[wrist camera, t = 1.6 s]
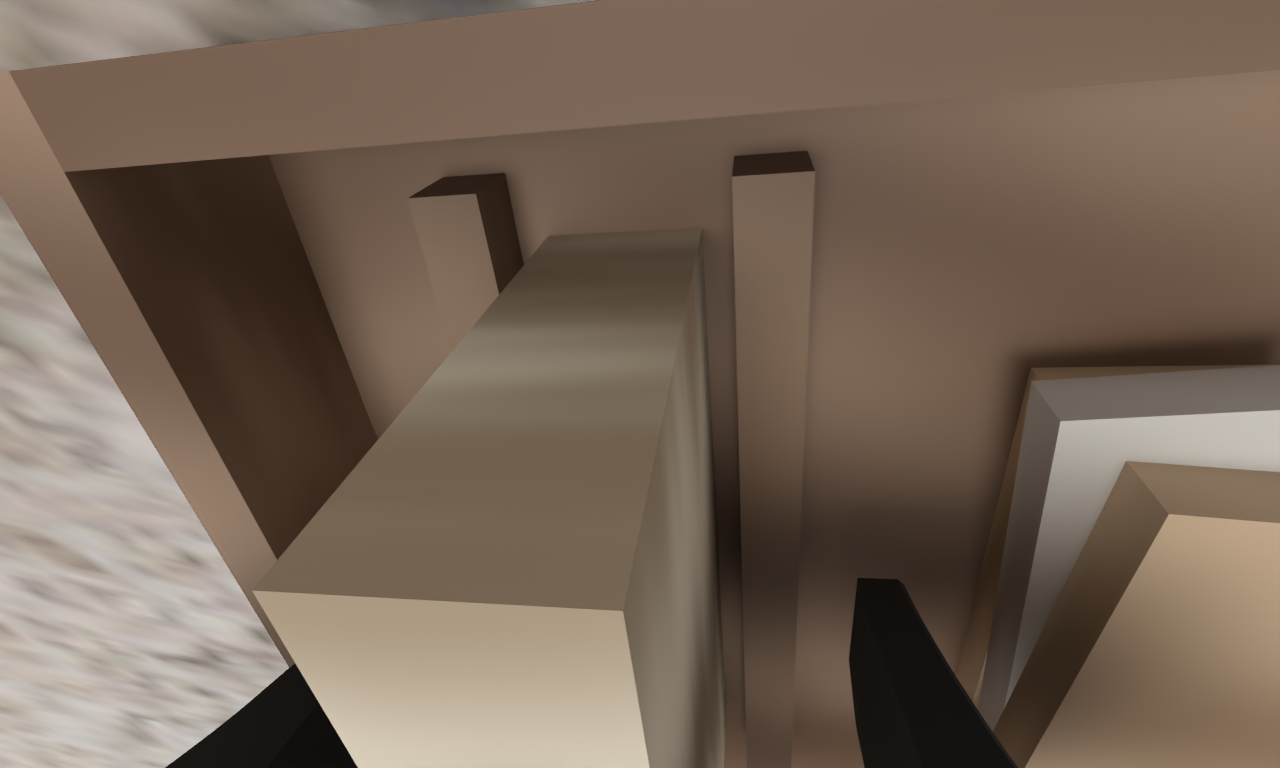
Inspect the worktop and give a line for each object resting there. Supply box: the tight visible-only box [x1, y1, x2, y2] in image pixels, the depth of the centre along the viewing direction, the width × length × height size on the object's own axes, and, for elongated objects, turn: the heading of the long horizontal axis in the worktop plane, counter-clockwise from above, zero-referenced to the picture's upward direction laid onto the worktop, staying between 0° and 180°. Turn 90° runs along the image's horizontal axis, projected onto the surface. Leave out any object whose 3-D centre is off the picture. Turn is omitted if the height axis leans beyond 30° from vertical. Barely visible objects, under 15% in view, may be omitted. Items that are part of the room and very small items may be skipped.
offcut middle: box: [978, 365, 1280, 732], centre depth 10 cm, size 9×4×1 cm, turn 10°
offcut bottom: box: [955, 365, 1275, 709], centre depth 11 cm, size 9×4×1 cm, turn 6°
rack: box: [0, 0, 1280, 768], centre depth 12 cm, size 20×17×4 cm
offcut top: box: [993, 461, 1280, 768], centre depth 10 cm, size 9×4×1 cm, turn 1°
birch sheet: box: [252, 228, 726, 768], centre depth 10 cm, size 12×2×7 cm, turn 6°
